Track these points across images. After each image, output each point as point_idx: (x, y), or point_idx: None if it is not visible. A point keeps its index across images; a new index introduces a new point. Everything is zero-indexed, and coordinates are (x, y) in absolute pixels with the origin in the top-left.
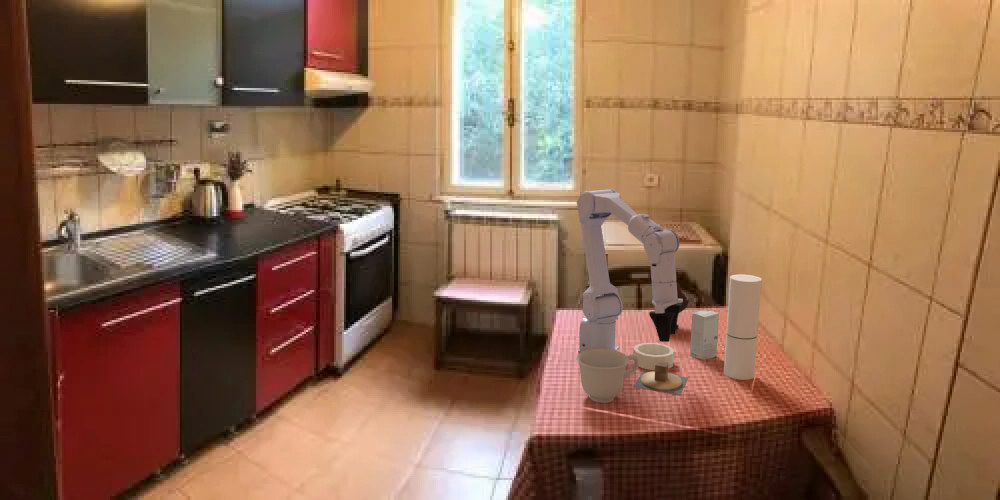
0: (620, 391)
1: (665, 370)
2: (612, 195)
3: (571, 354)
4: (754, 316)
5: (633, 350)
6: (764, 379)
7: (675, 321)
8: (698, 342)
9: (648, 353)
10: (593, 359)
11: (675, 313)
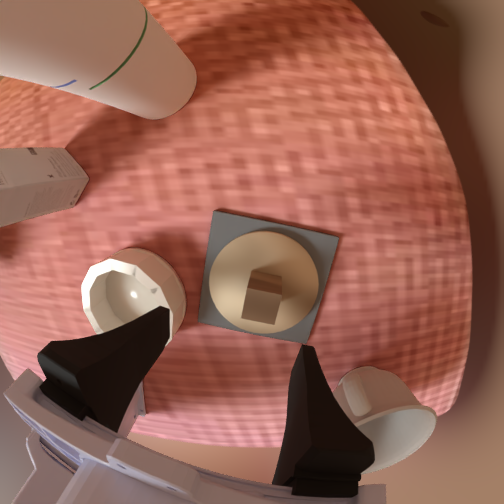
0: (382, 370)
1: (281, 291)
2: None
3: (158, 422)
4: None
5: None
6: (174, 34)
7: (136, 339)
8: (54, 193)
9: (108, 308)
10: None
11: (110, 365)
